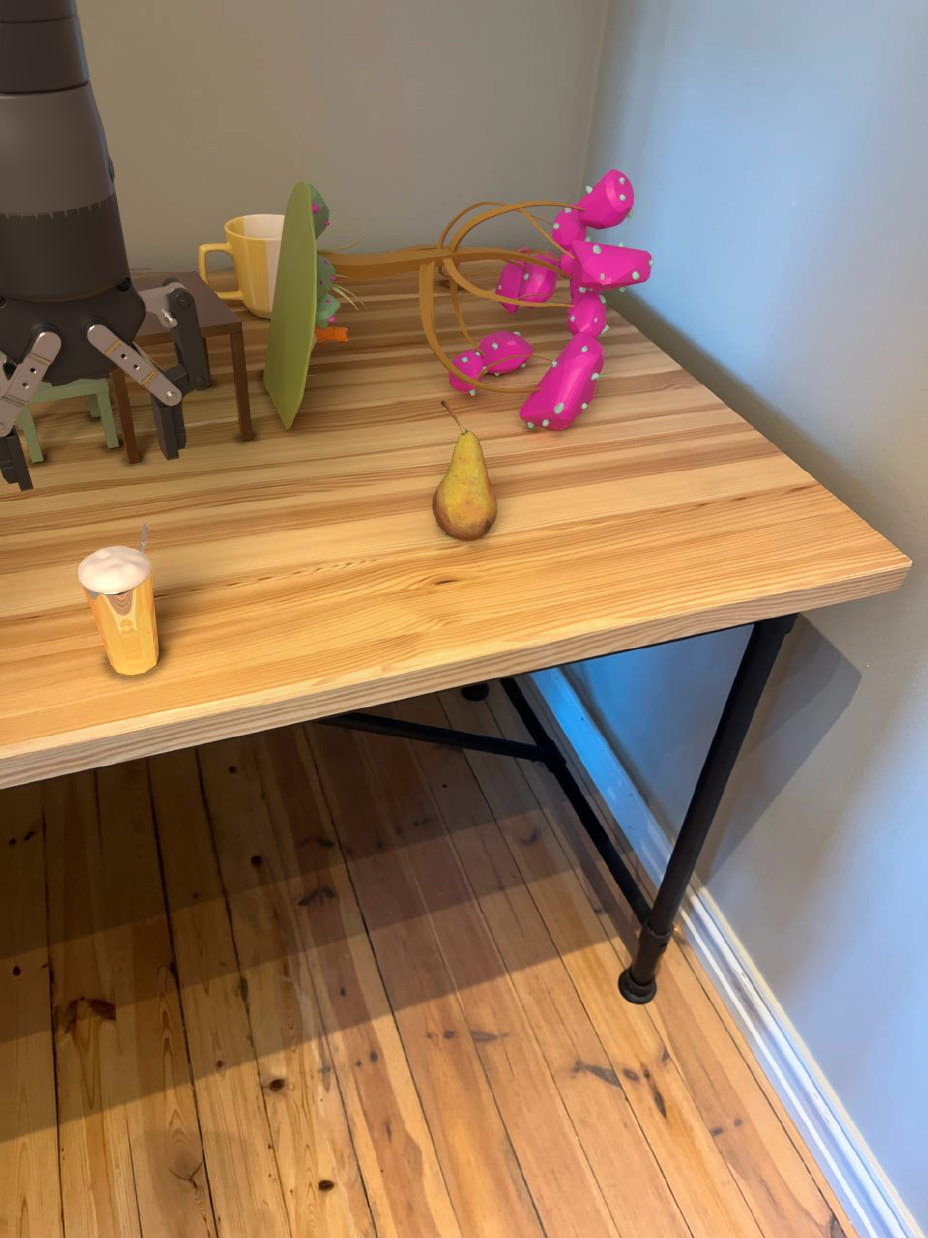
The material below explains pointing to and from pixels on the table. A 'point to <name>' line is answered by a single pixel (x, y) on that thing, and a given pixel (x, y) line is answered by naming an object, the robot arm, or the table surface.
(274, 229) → the mug
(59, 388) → the chair
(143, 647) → the milkshake
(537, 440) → the table surface
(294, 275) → the green and pink pieces
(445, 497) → the fruit
